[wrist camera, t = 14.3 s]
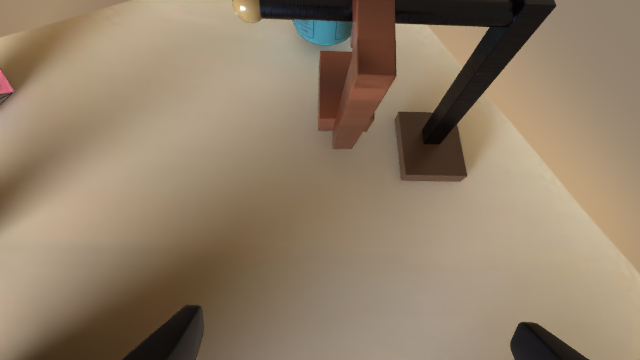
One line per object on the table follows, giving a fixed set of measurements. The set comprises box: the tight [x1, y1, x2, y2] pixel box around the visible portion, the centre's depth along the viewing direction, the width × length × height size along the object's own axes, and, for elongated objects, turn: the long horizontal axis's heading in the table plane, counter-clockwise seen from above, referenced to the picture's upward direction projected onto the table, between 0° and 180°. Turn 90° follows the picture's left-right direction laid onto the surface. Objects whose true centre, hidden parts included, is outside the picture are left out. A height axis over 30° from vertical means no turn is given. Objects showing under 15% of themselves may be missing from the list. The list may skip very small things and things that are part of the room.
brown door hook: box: [318, 0, 396, 149], centre depth 18 cm, size 7×4×12 cm, turn 179°
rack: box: [232, 0, 556, 182], centre depth 19 cm, size 6×16×14 cm, turn 90°
